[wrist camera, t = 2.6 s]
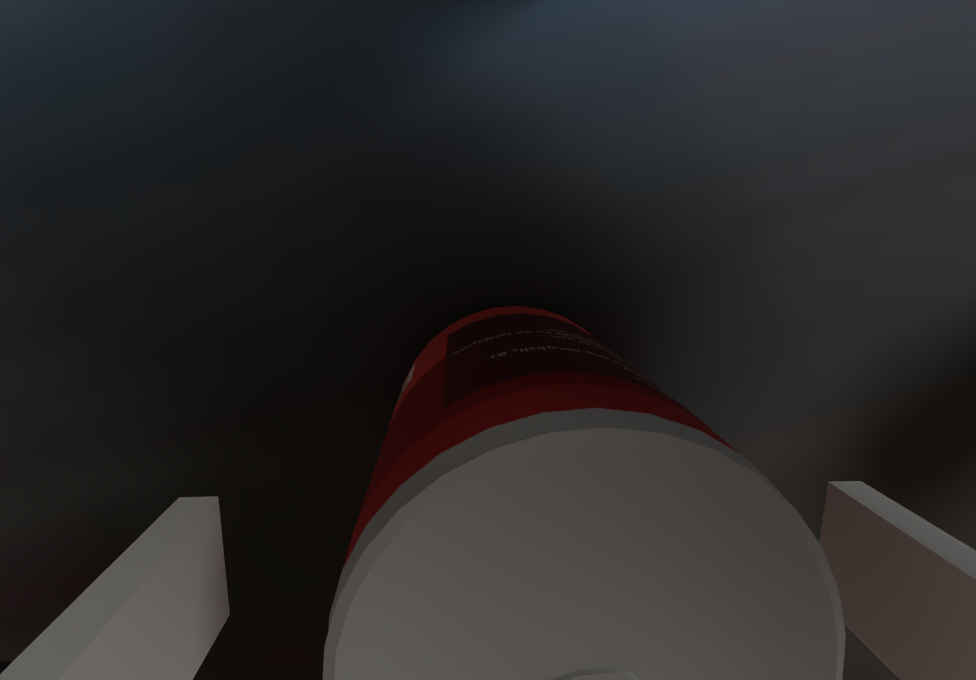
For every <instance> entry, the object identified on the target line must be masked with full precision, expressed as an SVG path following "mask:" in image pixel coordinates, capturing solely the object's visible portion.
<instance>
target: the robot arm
mask: <svg viewBox="0 0 976 680" xmlns="http://www.w3.org/2000/svg"><path fill="white" fill-rule="evenodd" d="M819 544H820V545H821V546H822V548H823V550H824V553H825V555H826V558H827V561H828V563H829V566H830V568H831V571H832V574H833V576H834V579H835V581H836V584H837V587H838V589H839V593H840V600H841V607H842V614H843V621H844V624H845V625H846V626H847V627H848V628H849V629H850V630H851V631H852V632H853V633H854V634H855V635H856V636H857V637H858V638H859V639H860V640H861V641H862V642H863V643H864V644H865V645H866V646H867V647H868V648H869V649H870V650H871V651H872V652H873V653H874V654H875V655H876V656H877V657H878V658H879V659H880V660H881V661H882V662H883V663H884V664H885V665H886V666H887V667H888V668H889V669H890V670H891V671H892V672H893V673H894V674H895V675H896V676H897V677H898V678H899V679H900V680H976V551H975V550H973V549H972V548H970V547H968V546H967V545H965V544H964V543H962V542H960V541H959V540H957V539H955V538H954V537H952V536H950V535H949V534H947V533H945V532H944V531H942V530H941V529H939V528H937V527H936V526H934V525H932V524H931V523H929V522H927V521H926V520H924V519H922V518H921V517H919V516H918V515H916V514H914V513H913V512H911V511H909V510H908V509H906V508H904V507H903V506H901V505H899V504H898V503H896V502H895V501H893V500H891V499H890V498H888V497H886V496H885V495H883V494H881V493H880V492H878V491H876V490H875V489H873V488H872V487H870V486H868V485H867V484H865V483H863V482H862V481H840V482H828V487H827V493H826V500H825V507H824V513H823V520H822V527H821V533H820V540H819ZM229 615H230V611H229V601H228V591H227V581H226V571H225V561H224V551H223V541H222V530H221V520H220V510H219V500H218V496H215V497H179V498H178V499H177V500H176V501H175V502H174V503H173V504H172V505H171V506H170V507H169V508H168V509H167V510H166V511H165V512H164V513H163V514H162V515H161V516H160V517H159V518H158V519H157V520H156V521H155V522H154V523H153V524H152V525H151V526H150V527H149V528H148V529H147V530H146V531H145V532H144V533H143V534H142V535H141V536H140V537H139V538H138V539H137V540H136V541H135V542H134V543H133V544H132V545H131V546H130V547H129V548H127V549H126V550H125V551H124V552H123V553H122V554H121V555H120V556H119V557H118V558H117V559H116V560H115V561H114V562H113V563H112V564H111V565H110V566H109V567H108V568H107V569H106V570H105V571H104V572H103V573H102V574H101V575H100V576H99V577H98V578H97V579H96V580H95V581H94V582H93V583H92V584H91V585H90V586H89V587H88V588H87V589H86V590H85V591H84V592H83V593H82V594H81V595H80V596H79V597H78V598H77V599H76V600H75V601H74V602H73V603H72V604H71V605H70V606H69V607H68V608H67V609H66V610H65V611H64V612H63V613H62V614H61V615H60V616H59V617H58V618H57V619H56V620H55V621H54V622H53V623H52V624H51V625H49V626H48V627H47V628H46V629H45V630H44V631H43V632H42V633H41V634H40V635H39V636H38V637H37V638H36V639H35V640H34V641H33V642H32V643H31V644H30V645H29V646H28V647H27V648H26V649H25V650H24V651H23V652H22V653H21V654H20V655H19V656H18V657H17V658H16V659H15V660H14V661H13V662H0V680H193V678H194V676H195V674H196V673H197V671H198V669H199V667H200V666H201V664H202V662H203V660H204V659H205V657H206V655H207V653H208V652H209V650H210V648H211V646H212V645H213V643H214V641H215V639H216V638H217V636H218V634H219V632H220V631H221V629H222V627H223V625H224V624H225V622H226V620H227V618H228V617H229Z"/></svg>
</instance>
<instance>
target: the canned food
mask: <svg viewBox="0 0 976 680" xmlns="http://www.w3.org/2000/svg"><path fill="white" fill-rule="evenodd" d="M845 638H846V635H845V628H844V621H843V614H842V607H841V600H840V593H839V589H838V587H837V584H836V581H835V579H834V576H833V574H832V571H831V568H830V566H829V563H828V561H827V558H826V555H825V553H824V550H823V548H822V546H821V545H820V544H819V542H818V541H817V539H816V538H815V536H814V535H813V533H812V532H811V530H810V529H809V527H808V526H807V524H806V523H805V521H804V520H803V519H802V517H801V516H800V514H799V513H798V511H797V510H796V509H795V508H794V507H793V506H792V505H791V504H790V503H789V502H788V501H787V500H786V499H785V498H784V497H783V496H782V495H781V494H780V492H779V491H778V489H777V488H776V486H775V485H774V484H773V483H771V482H770V481H769V480H768V479H767V478H766V477H765V476H764V475H763V474H762V473H761V472H760V471H758V470H757V469H756V468H755V467H754V466H753V465H752V464H751V463H750V462H749V461H748V460H747V459H746V458H744V457H743V456H742V455H741V454H740V453H739V452H737V451H736V450H735V449H734V448H733V447H731V446H730V445H729V444H728V443H726V442H725V441H724V440H723V439H721V438H720V437H719V436H718V435H717V434H716V433H715V432H714V431H713V430H712V429H710V428H709V427H708V426H707V425H706V424H705V423H704V422H702V421H701V420H700V419H698V418H697V417H696V416H695V415H693V414H692V413H691V412H689V411H688V410H687V409H686V408H684V407H683V406H682V405H681V404H679V403H678V402H677V401H675V400H674V399H673V398H672V397H670V396H669V395H668V394H667V393H665V392H664V391H663V390H661V389H660V388H659V387H658V386H656V385H655V384H654V383H652V382H651V381H650V380H649V379H647V378H646V377H645V376H644V375H642V374H641V373H640V372H638V371H637V370H636V369H635V368H633V367H632V366H631V365H630V364H628V363H627V362H626V361H624V360H623V359H622V358H621V357H619V356H618V355H617V354H615V353H614V352H613V351H612V350H610V349H609V348H608V347H607V346H605V345H604V344H603V343H601V342H600V341H599V340H598V339H596V338H595V337H594V336H592V335H591V334H590V333H589V332H587V331H586V330H585V329H584V328H582V327H580V326H579V325H577V324H575V323H573V322H572V321H570V320H568V319H567V318H565V317H563V316H561V315H558V314H555V313H552V312H549V311H546V310H543V309H539V308H531V307H523V306H509V307H496V308H491V309H487V310H484V311H480V312H477V313H473V314H470V315H468V316H466V317H464V318H463V319H461V320H459V321H457V322H455V323H453V324H451V325H449V326H448V327H447V328H446V329H444V330H443V331H442V332H441V333H439V334H438V335H437V336H436V337H435V338H433V339H432V340H431V341H430V342H429V343H428V345H427V346H426V347H425V348H424V349H423V351H422V352H421V353H420V354H419V356H418V357H417V358H416V359H415V361H414V363H413V365H412V367H411V369H410V371H409V373H408V375H407V377H406V378H405V380H404V383H403V386H402V389H401V392H400V395H399V398H398V401H397V404H396V407H395V410H394V413H393V416H392V419H391V422H390V425H389V428H388V431H387V433H386V436H385V439H384V442H383V445H382V448H381V451H380V454H379V457H378V460H377V463H376V466H375V469H374V472H373V475H372V478H371V481H370V484H369V487H368V489H367V492H366V495H365V498H364V501H363V504H362V507H361V510H360V513H359V516H358V519H357V522H356V525H355V528H354V532H353V535H352V539H351V542H350V546H349V549H348V553H347V556H346V560H345V563H344V566H343V569H342V573H341V576H340V580H339V583H338V587H337V590H336V594H335V597H334V601H333V604H332V608H331V611H330V615H329V630H328V635H327V639H326V642H325V646H324V664H323V680H842V677H843V664H844V651H845Z"/></svg>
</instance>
